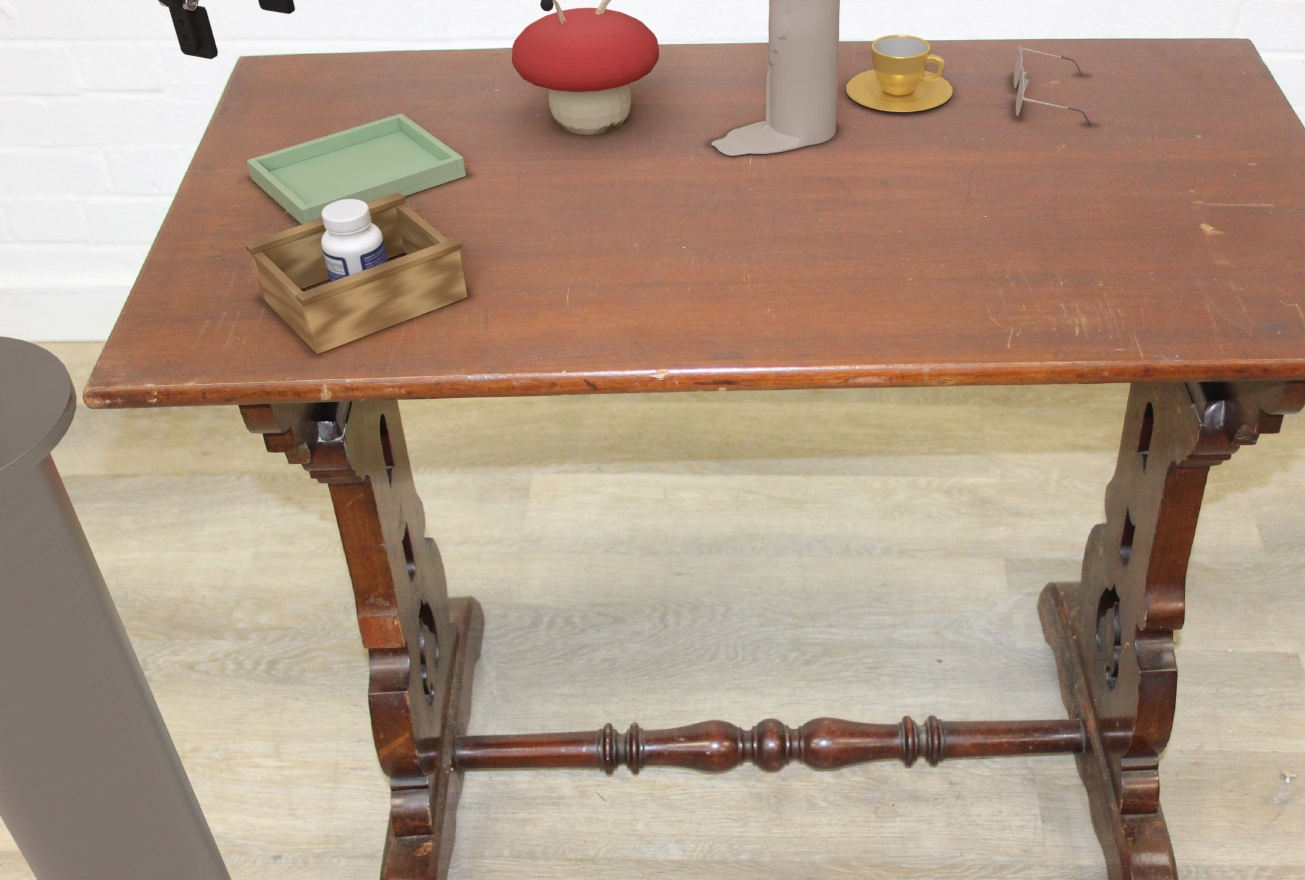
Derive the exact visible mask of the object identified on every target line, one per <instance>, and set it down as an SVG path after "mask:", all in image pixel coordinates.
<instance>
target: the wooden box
mask: <svg viewBox="0 0 1305 880" xmlns="http://www.w3.org/2000/svg"><path fill="white" fill-rule="evenodd" d="M405 197H406V196H402V195H401V194H400V193H396V194H393V195H390V196H387V197H384V198H381V199H378V200H375V201H372V202H369V203H366V204H367V205H368V208H369V212H370V216H371V223H373V224H374V225H376V226H377V227H378V228H379V229H380V231H381V233H382V236H383V240H384V245H385V249H386V254H387V259H391V258H394V257H397V256H399V255H402V254H405V255H403V256H400V257H398V258H395V259H392V260H388V262H386V263H383V264H380V265H378V266H375V267H372V268H369V269H366V270H363V271H361V272H358V273H355V274H352V275H349V276H347V277H344V278H341V279H338V280H335V281H333V282H327V283H324V282H326V281H330V278H329V274H328V270H327V266H326V262H325V258H324V254H323V250H322V245H321V240H322V236H323V235H324V233H325V232H326V231H327V230H326V229H325V226H324V223H323V218H321V219H318V220H315V221H312V222H309V223H306V224H303V225H302V224H300V225H297V226H294V227H291V228H288V229H285V230H282V231H278V232H276V233H273V234H270V235H267V236H264V237H261V238H258V239H255V240H252V241H248V242H246V243H244V247H245V250H246V251H247V252H248V253H249V254H250V258H251V261H252V264H253V269H254V273H255V276H256V280H257V283H258V287H259V291H260V294H261V297H262V299H263V300H264V301H265V302H266V303H267V305H268V306H270V308H271V309H272V310H273V311H274V312H275V313H276V314H277V315H278V316H279V317H280V318H281V319H282V320H283V321H284V322H285V323H286V324H287V326H289V327H290V328H291V329H292V330H293V332H295V333H296V334H297V335H298V337H300V338H301V340H302V341H304V343H305V344H306V345H308V347H310V349H311V350H312V351H313V352H314V353H315V354H316V355H319V354H322V353H325V352H327V351H329V350H333V349H335V348H338V347H340V346H341V347H342V345H345V344H348V343H351V342H355V341H356V340H359V339H362V338H364V337H366V336H369V335H373V334H375V333H377V332H380V331H382V330H385V329H387V328H390V327H393V326H396V325H398V324H401V323H403V322H406V321H409V320H412V319H415V318H416V317H417V318H418V317H420V316H422V315H424V314H428V313H431V312H433V311H435V310H438V309H440V308H443V307H446V306H448V305H452V304H454V303H456V302H459V301H461V300H464V299H467V298H468V291H467V285H466V279H465V274H464V273H465V272H464V267H463V261H462V254H461V250H462V249H464V247H463V243H462V241H461V240H459V239H458V238H456V237H454V238H451V239H448V238H447V236H445V235H443V234H442V233H441V232H440V231H438V230H437V229H436V228H435V227H433V226H432V225H431V224H430V223H428V222H427V221H426V220H425V219H423V218H422V217H421V216H420V215H418V214H417V213H416V212H415V211H413V210H412V209H411V208H410V207H409V206H407V205H406V202H407V201H406V198H405ZM321 283H324V284H322V285H318V284H321ZM315 285H318V286H316V287H313V288H310V289H307V290H305V291H303V290H304V289H306V288H309V287H312V286H315Z"/></svg>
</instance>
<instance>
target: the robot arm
mask: <svg viewBox="0 0 1305 880" xmlns="http://www.w3.org/2000/svg"><path fill="white" fill-rule="evenodd" d="M157 1H158V2H159V5H161V6H162V7H165V8H168V11H169V14H170V17H171V21H172V25H173V29H174V31H175V34H176V38H177V41H178V45H179V48H180V51H181V52H182V54H184V56H190V57H194V58H195V57H197V58H201V59H207V60H213V59H215V58H217V57H218V55H219V54H218V53H219V51H218V47H217V43H216V40H215V36H214V32H213V29H212V25H211V20H210V18H209V14H208V11H207V9H206V6H202V5H199V1H200V0H157ZM257 1H258V5H259V8H260V9H261V10H263V11H266V12H274V13H279V14H284V15H285V14H286V15H290V14H292V13H294V12H295V11H296V6H295V2H294V0H257Z"/></svg>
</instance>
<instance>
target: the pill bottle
mask: <svg viewBox="0 0 1305 880" xmlns="http://www.w3.org/2000/svg"><path fill="white" fill-rule="evenodd" d="M322 218H323V223H324V226H325V229H326V230H327V231H326V232H325V233H324V235H323V236H322V240H321V245H322V250H323V254H324V258H325V262H326V266H327V270H328V274H329V278H330V279H329V281H330V282H333V281H335V280H338V279H341V278H344V277H347V276H349V275H352V274H355V273H358V272H361V271H363V270H366V269H369V268H372V267H375V266H378V265H380V264H383V263H386V262H389V260H388V259H387V254H386V249H385V245H384V240H383V236H382V233H381V231H380V229H379V228H378V227H377V226H376V225H374V224H373V223H371V216H370V212H369V208H368V205H367V204H366V203H365V202H363V201H361V200H356V199H344V200H339V201H335V202H333V203H331V204H329V205H327V206H326V207H325V208H324V209H323V210H322ZM330 282H329V283H330Z"/></svg>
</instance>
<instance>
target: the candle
mask: <svg viewBox="0 0 1305 880" xmlns="http://www.w3.org/2000/svg"><path fill="white" fill-rule="evenodd" d="M840 10H841V0H768V27H767V28H768V29H767V30H768V31H767V32H768V45H767V46H768V49H767V51H768V53H767V66H766V80H765V119H764V120H762V121H757V122H754V123H750V124H748V125H744V126H741V127H737V128H734V129H732V130H731V131H729V132H727V133H726V136H725V137H723V138H719V139H715V140H713V141H712V142H711V144H710V145H711V146H713V147H715V148H716V149H717V151H719V152H721V154H724V155H725V156H733V157H734V156H740V155H747V154H751V155H768V154H776V153H782V152H787V151H791V150H796V149H800V148H803V147H807V146H812V145H819V144H822V143H825V142H828V141H829V140H831V139H832V138H833V137H834V136H835V135H836V132H837V109H838V108H837V107H838V105H837V103H838V70H839V47H840V15H841V14H840V12H841V11H840Z"/></svg>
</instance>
